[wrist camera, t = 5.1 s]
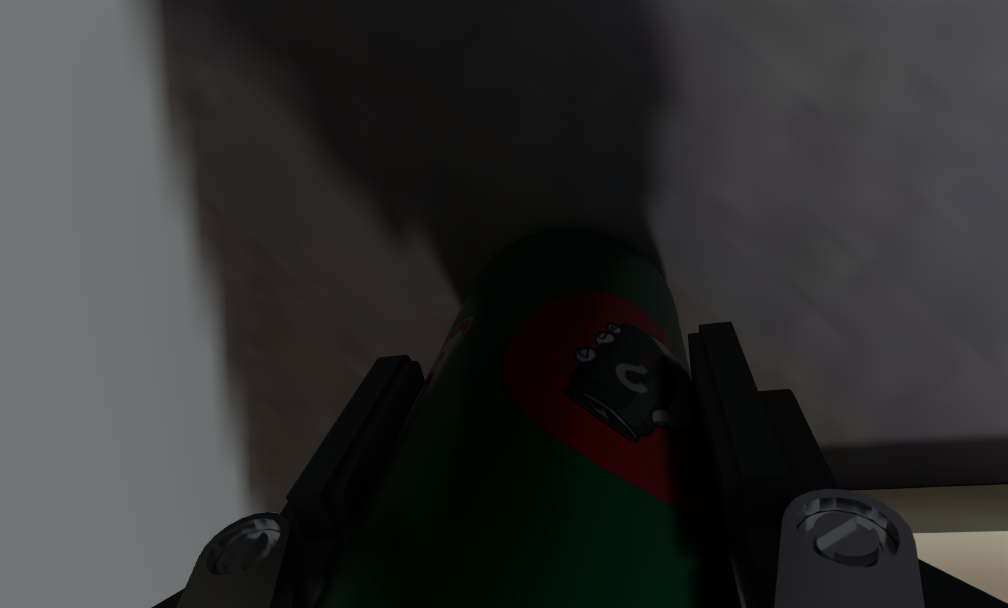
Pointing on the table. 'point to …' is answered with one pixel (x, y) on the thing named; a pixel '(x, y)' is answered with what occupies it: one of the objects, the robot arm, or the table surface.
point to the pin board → (958, 530)
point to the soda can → (548, 451)
